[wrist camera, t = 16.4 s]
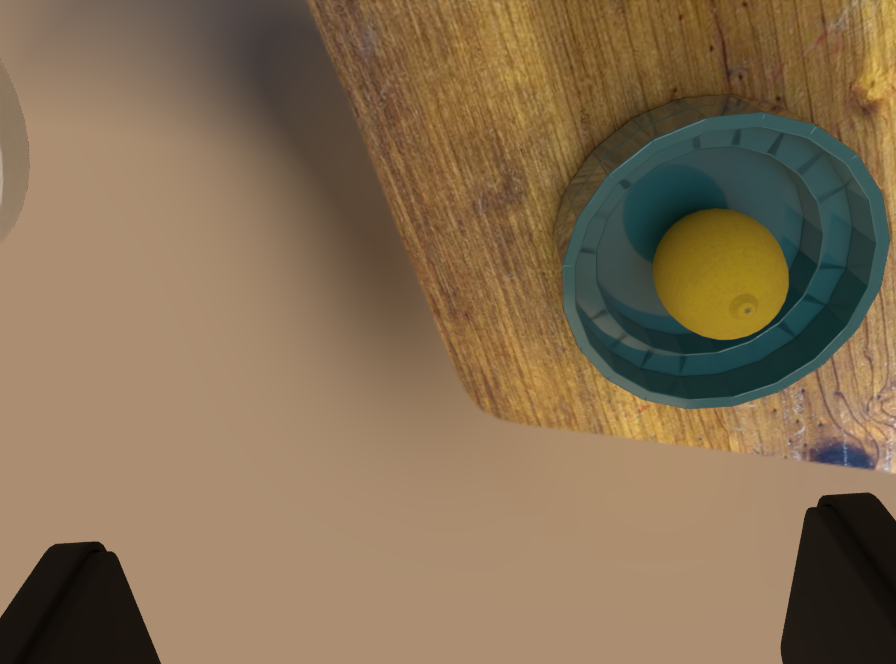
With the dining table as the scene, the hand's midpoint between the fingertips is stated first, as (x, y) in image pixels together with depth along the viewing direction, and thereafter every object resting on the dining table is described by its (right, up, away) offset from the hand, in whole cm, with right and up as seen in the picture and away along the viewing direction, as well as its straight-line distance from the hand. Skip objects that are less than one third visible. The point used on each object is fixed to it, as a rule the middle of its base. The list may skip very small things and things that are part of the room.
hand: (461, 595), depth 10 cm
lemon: (+12, +8, +26) cm, 30 cm away
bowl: (+12, +8, +27) cm, 31 cm away
